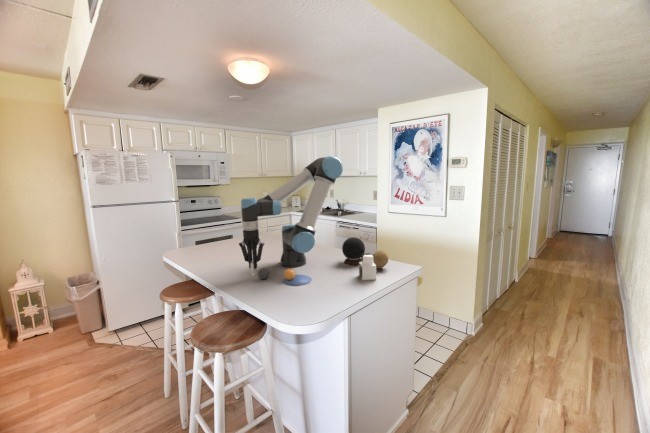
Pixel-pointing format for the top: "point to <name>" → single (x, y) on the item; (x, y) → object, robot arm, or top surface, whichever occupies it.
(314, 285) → the top surface
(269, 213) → the robot arm
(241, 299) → the top surface
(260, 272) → the dark gray ball
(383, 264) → the tan sphere on base
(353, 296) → the top surface
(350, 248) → the black sphere on pedestal
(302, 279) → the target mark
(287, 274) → the object ball
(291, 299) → the top surface
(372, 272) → the medicine bottle
